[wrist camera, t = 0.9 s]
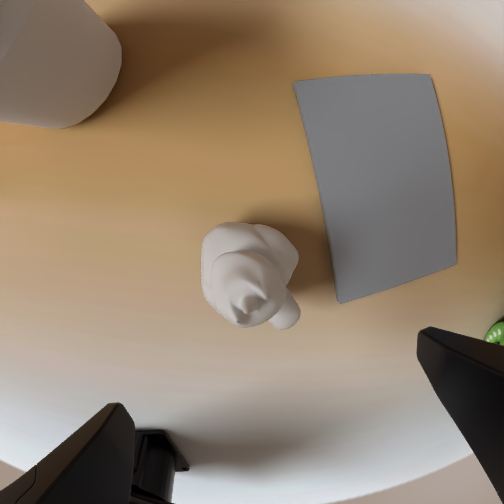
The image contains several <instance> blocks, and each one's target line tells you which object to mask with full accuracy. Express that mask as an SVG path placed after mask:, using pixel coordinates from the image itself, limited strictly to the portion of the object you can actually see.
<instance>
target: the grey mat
mask: <svg viewBox="0 0 504 504" xmlns="http://www.w3.org/2000/svg"><path fill="white" fill-rule="evenodd" d="M293 87H294V90H295V94H296V98H297V101H298V105H299V109H300V113H301V117H302V121H303V124H304V128H305V133H306V137H307V141H308V145H309V149H310V154H311V158H312V162H313V167H314V171H315V176H316V181H317V185H318V190H319V195H320V200H321V205H322V210H323V216H324V221H325V226H326V232H327V238H328V243H329V249H330V255H331V262H332V268H333V274H334V281H335V288H336V295H337V301H338V302H339V303H340V304H342V303H345V302H349V301H352V300H355V299H358V298H362V297H365V296H368V295H371V294H374V293H377V292H380V291H383V290H387V289H390V288H393V287H396V286H398V285H401V284H404V283H407V282H410V281H413V280H416V279H419V278H421V277H424V276H427V275H430V274H432V273H435V272H438V271H441V270H443V269H446V268H449V267H451V266H454V265H456V225H455V208H454V196H453V186H452V178H451V170H450V163H449V156H448V150H447V144H446V139H445V134H444V129H443V124H442V119H441V115H440V110H439V106H438V102H437V98H436V94H435V91H434V87H433V83H432V80H431V77H430V74H371V75H353V76H340V77H329V78H319V79H311V80H303V81H296V82H294V83H293Z"/></svg>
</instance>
